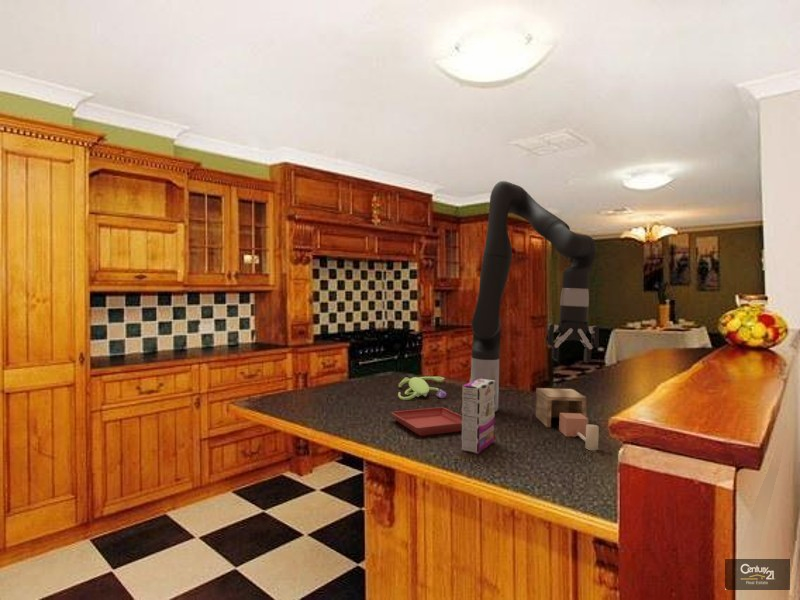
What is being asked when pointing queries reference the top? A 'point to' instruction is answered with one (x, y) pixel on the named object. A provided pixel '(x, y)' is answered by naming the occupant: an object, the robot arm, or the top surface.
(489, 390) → the candy bar box
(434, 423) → the plant saucer
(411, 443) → the top surface
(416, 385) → the figurine
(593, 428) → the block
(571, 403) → the shelf cubby
